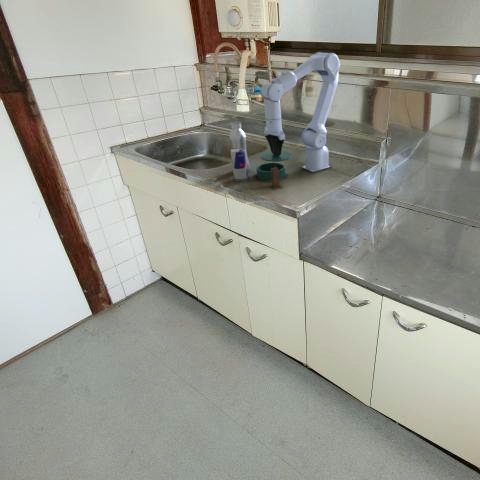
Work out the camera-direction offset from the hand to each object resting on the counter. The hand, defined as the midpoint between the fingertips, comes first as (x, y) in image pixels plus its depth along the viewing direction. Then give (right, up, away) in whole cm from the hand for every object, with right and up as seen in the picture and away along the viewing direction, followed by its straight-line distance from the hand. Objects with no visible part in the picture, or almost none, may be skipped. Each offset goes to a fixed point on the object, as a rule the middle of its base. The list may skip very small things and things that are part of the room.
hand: (276, 154), depth 140 cm
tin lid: (0, -1, 0) cm, 1 cm away
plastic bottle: (-16, -5, +11) cm, 20 cm away
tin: (-3, -8, +6) cm, 10 cm away
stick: (0, -13, -4) cm, 14 cm away
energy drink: (-14, -10, +3) cm, 18 cm away
